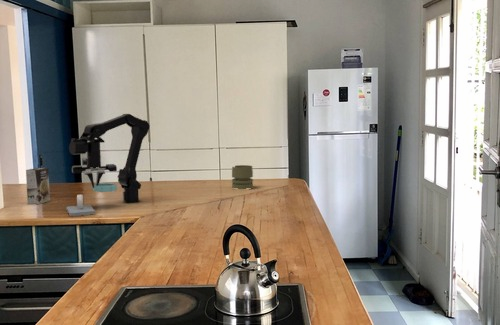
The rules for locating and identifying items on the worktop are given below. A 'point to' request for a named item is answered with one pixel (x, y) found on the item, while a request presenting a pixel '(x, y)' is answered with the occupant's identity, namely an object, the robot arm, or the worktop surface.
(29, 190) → the coffee box
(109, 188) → the teal ring
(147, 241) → the worktop surface
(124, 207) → the worktop surface
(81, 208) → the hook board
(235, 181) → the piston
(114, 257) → the worktop surface
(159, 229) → the worktop surface
